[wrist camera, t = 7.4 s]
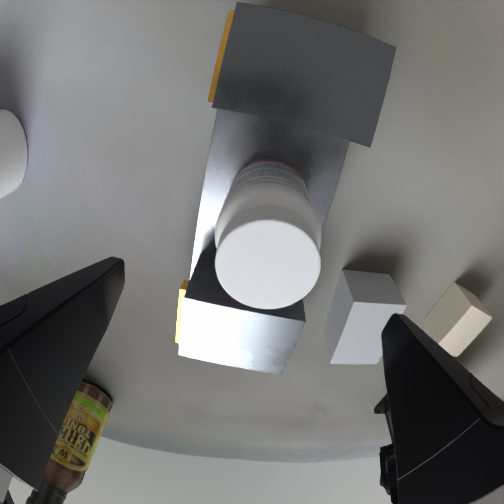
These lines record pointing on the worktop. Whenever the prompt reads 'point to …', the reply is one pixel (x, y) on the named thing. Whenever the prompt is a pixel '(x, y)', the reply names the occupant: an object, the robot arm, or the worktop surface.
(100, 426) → the sauce bottle
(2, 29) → the worktop surface
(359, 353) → the grey block
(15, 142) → the pill bottle
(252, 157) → the dark grey block rack
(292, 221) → the pill bottle
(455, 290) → the cream rectangular block
